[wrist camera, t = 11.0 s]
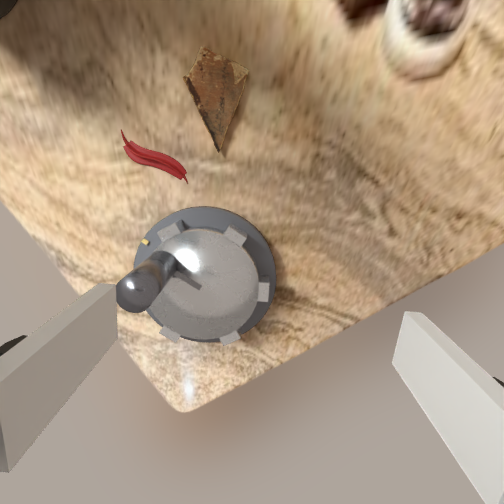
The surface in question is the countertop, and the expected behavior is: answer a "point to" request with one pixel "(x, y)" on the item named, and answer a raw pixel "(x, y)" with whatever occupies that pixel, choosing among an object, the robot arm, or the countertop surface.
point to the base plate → (221, 221)
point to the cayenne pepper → (154, 159)
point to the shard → (216, 91)
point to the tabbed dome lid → (196, 283)
